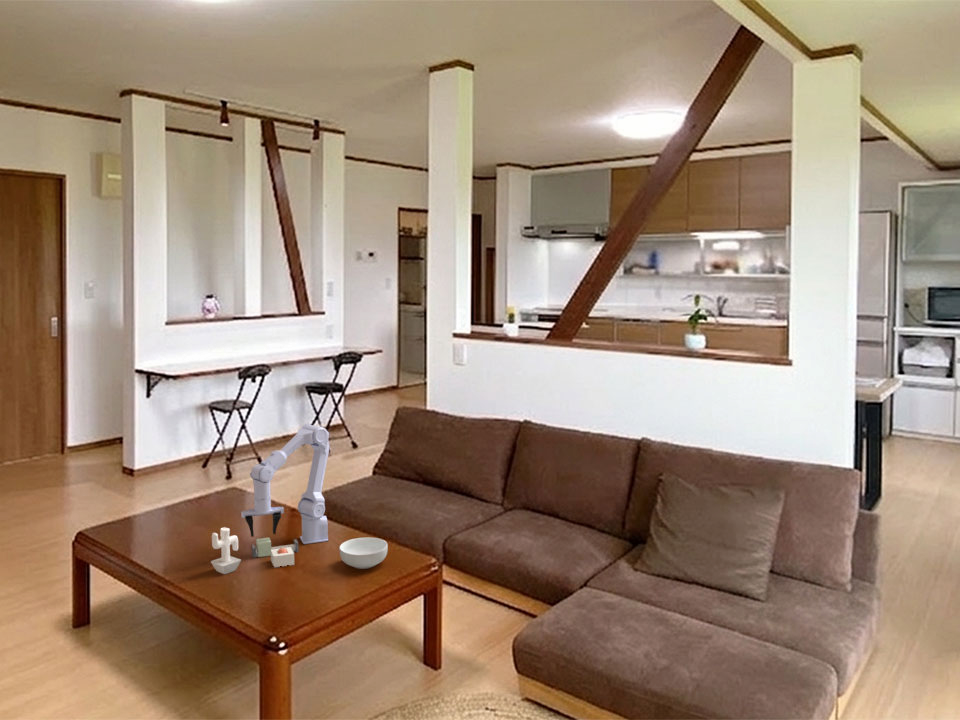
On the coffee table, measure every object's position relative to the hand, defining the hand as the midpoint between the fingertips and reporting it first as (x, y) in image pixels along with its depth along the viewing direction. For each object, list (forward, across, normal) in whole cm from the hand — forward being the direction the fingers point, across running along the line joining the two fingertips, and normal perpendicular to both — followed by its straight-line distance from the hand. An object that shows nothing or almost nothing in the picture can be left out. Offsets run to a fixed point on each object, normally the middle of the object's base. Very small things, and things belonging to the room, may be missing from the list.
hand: (263, 534), depth 281 cm
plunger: (+7, -5, +11) cm, 14 cm away
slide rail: (+8, -4, 0) cm, 9 cm away
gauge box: (+8, -5, +10) cm, 14 cm away
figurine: (+8, +14, +11) cm, 19 cm away
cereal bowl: (+8, -31, +23) cm, 39 cm away
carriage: (+8, 0, 0) cm, 8 cm away
